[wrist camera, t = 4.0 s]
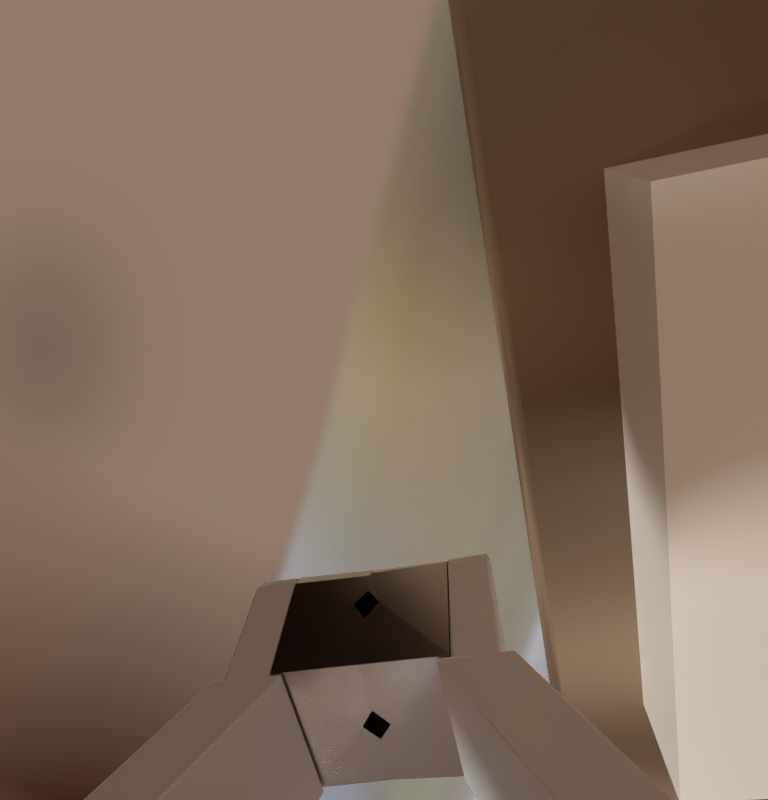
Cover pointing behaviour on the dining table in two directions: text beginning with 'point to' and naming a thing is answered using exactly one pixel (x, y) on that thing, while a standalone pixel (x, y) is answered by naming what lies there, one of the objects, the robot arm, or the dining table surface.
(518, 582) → the dining table surface
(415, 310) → the dining table surface
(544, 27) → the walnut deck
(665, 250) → the cream flat block
